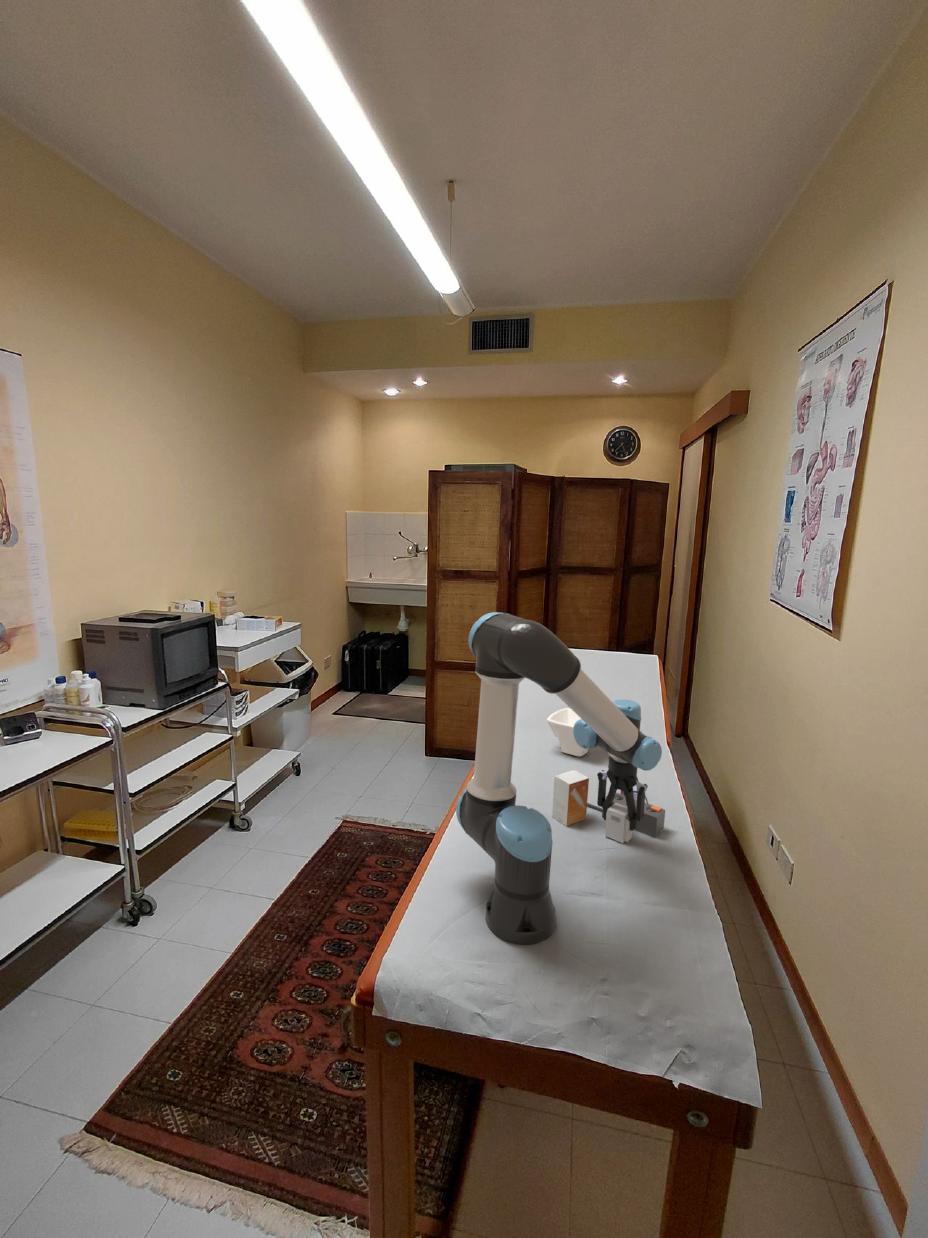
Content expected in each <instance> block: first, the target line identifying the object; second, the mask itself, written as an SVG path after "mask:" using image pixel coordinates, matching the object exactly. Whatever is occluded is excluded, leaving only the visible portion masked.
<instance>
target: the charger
mask: <svg viewBox="0 0 928 1238" xmlns="http://www.w3.org/2000/svg"><path fill="white" fill-rule="evenodd" d="M628 817H629V814H628V809H627V807H626V806H624V805H621V804H618V803H614V804H613V805H612V806H611V807H610V808H608V810H607V823H606V822H605V831H606V833H605V837H607V838H610V839H612V840H613V841H616V842H619V843H622V844H623V843H624V842H626V841H625V833H626V819H627V818H628Z"/></svg>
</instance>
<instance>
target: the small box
mask: <svg viewBox="0 0 928 1238" xmlns="http://www.w3.org/2000/svg"><path fill="white" fill-rule="evenodd" d="M553 780H554V781H553V792H552V795H553V797H552V809H551V810H552V814H551V817H552V818H553V819H554V820H557V822H558V823H561V824H563V825H564V826H565V827H568V826H571V825H572V824H573V825H574V824H577V822H581V821H583V820H586V819H587V809H588V807H587V803H588V797H589V782H590V778H589V777H588V776H586V775H584V774H582V773H581V772H579V771H577V770H575V769H574V770H573V769H572V770H570V771H567V772H562V773H560V774H557V775H554V779H553Z"/></svg>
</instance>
